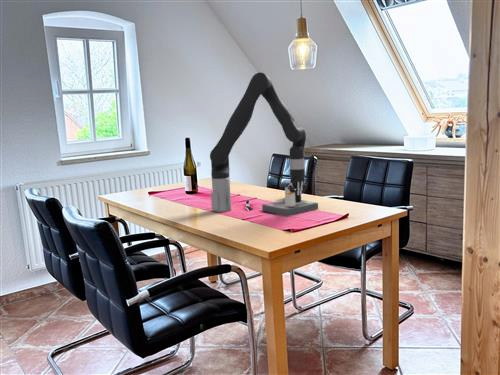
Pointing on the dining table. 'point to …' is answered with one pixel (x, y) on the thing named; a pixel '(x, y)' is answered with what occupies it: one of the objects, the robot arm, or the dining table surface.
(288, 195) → the block
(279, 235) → the dining table surface
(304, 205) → the dual slider panel
